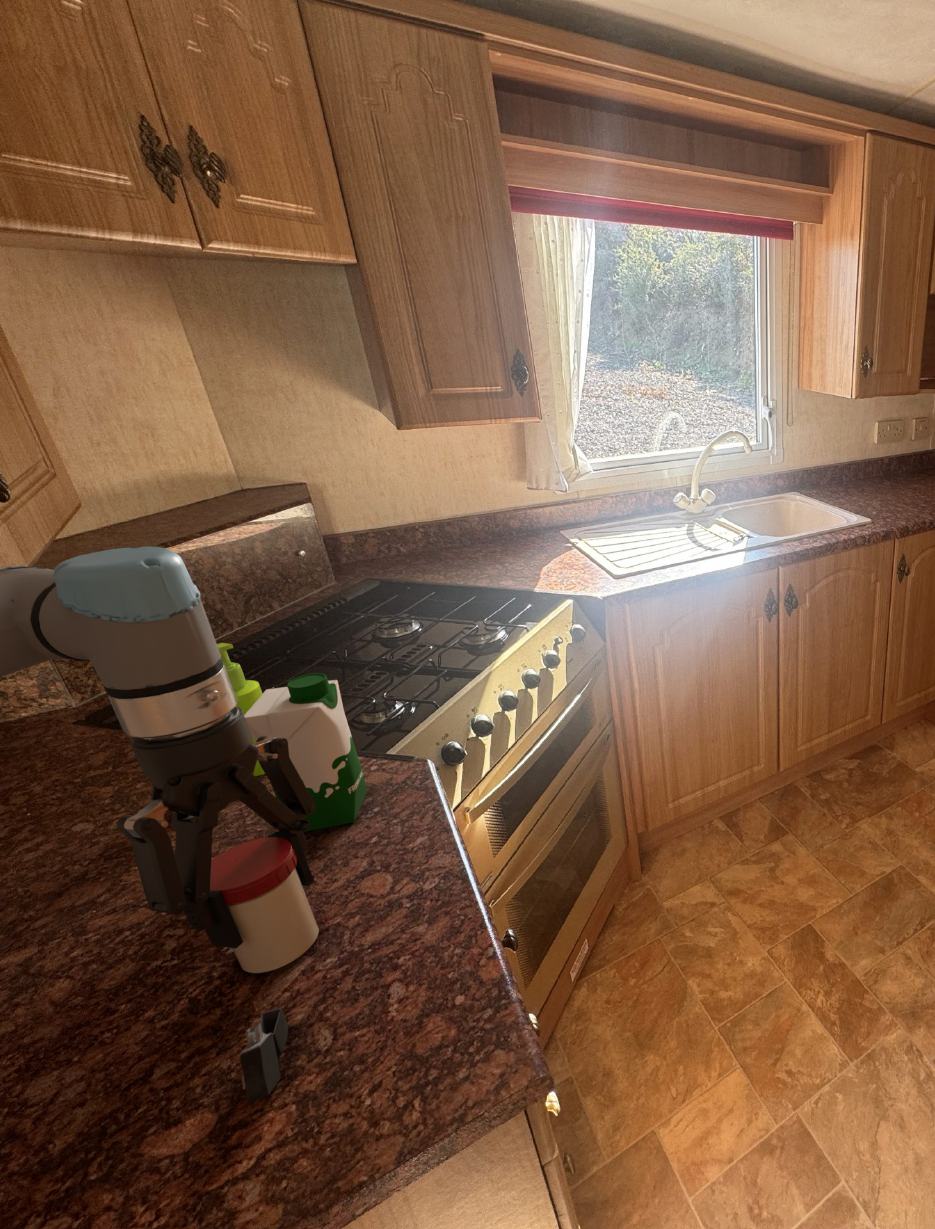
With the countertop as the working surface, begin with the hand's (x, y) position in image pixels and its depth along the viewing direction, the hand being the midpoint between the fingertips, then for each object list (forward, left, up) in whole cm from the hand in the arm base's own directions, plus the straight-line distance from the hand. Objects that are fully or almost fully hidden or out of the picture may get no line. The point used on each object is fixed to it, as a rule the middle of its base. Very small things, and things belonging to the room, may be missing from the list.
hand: (266, 910), depth 66 cm
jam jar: (0, 0, -5) cm, 5 cm away
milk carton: (-21, +10, -5) cm, 24 cm away
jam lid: (0, 0, +6) cm, 6 cm away
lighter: (+15, -4, -5) cm, 16 cm away
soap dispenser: (-41, +6, -5) cm, 42 cm away
